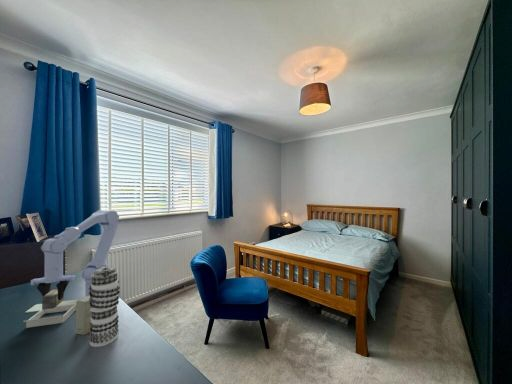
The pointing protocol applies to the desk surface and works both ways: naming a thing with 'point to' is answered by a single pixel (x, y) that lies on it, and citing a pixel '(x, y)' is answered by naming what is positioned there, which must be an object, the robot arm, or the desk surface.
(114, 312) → the decorative candle
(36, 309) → the pad
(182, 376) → the desk surface
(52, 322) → the white flat frame
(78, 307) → the skincare box
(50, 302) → the block
